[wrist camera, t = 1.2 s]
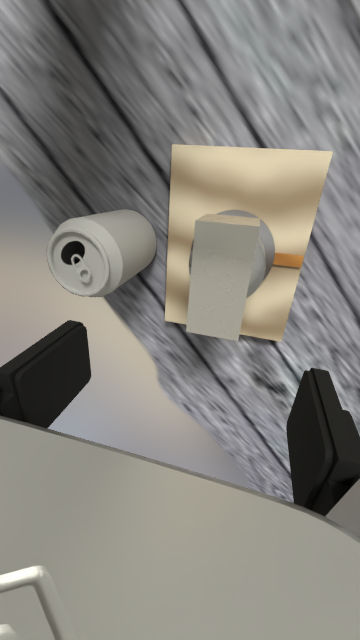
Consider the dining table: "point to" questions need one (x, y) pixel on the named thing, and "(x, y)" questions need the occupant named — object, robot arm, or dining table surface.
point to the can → (100, 251)
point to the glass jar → (223, 273)
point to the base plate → (245, 201)
